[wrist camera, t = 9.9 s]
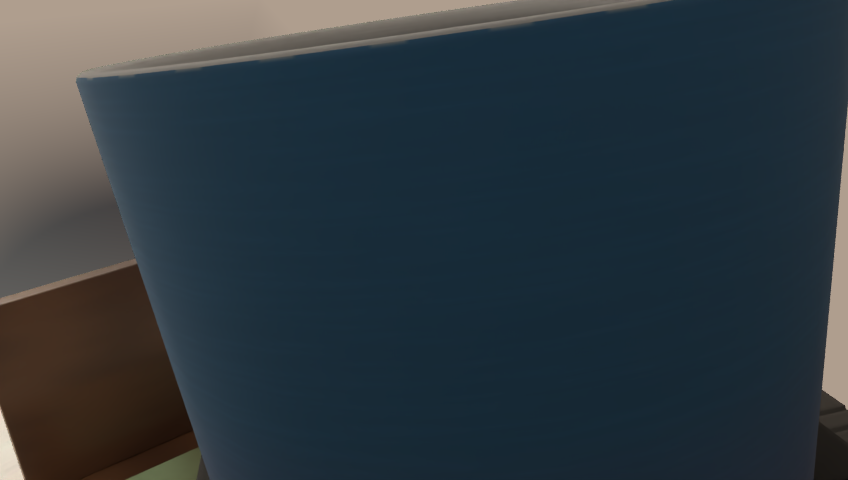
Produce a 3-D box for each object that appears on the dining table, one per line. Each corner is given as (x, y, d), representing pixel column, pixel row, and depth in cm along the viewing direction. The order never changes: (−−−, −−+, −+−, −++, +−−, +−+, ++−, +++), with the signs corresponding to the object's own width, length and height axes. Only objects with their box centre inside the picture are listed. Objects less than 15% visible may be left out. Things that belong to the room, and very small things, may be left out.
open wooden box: (292, 456, 48) (242, 226, 43) (425, 568, 37) (376, 274, 32) (55, 571, 40) (-35, 308, 36) (132, 755, 29) (16, 407, 25)
